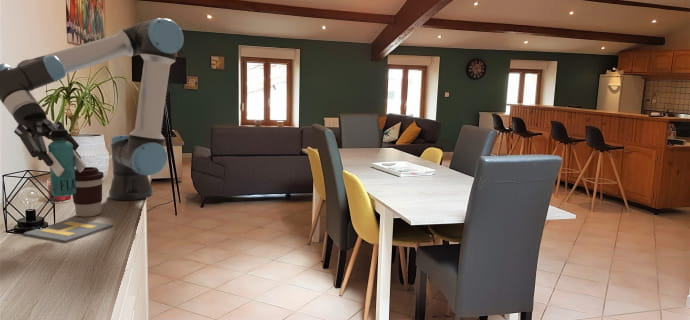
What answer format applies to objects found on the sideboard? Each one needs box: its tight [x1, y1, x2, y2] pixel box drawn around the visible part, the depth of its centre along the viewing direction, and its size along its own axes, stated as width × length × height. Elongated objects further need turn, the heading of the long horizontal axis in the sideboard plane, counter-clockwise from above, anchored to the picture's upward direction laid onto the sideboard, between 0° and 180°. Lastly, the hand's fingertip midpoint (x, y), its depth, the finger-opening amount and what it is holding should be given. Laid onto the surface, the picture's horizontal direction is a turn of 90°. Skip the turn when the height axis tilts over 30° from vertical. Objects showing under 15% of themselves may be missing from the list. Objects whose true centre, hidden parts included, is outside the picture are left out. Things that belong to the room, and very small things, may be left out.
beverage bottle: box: [47, 128, 77, 197], centre depth 142 cm, size 6×7×20 cm
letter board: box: [23, 218, 113, 243], centre depth 145 cm, size 16×16×1 cm
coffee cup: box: [72, 166, 105, 218], centre depth 161 cm, size 10×10×15 cm
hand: (71, 171), depth 141 cm, fingers closed on beverage bottle, 6 cm apart
